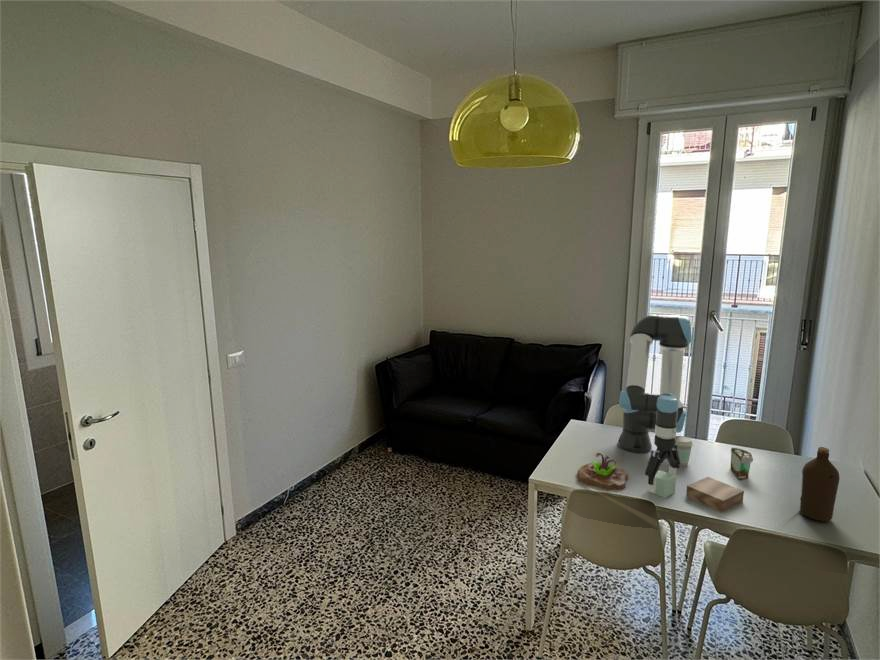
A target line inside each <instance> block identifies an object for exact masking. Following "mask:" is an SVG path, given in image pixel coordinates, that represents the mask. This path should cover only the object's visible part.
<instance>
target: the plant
mask: <svg viewBox="0 0 880 660" xmlns="http://www.w3.org/2000/svg"><path fill="white" fill-rule="evenodd" d="M594 455H595V457H597V458H598V457H599V456H601V462H600V461H597V462H594V461H591V463H587V464H584V465H581V466H580V467H579V469H578V470H577V475H578V482H580V483H582V484H585V485H588V486H593V487H598V488H599V489H606V490H609V491H610V490H613V489H614V490H617V491H620V490H624V489H625V488H626V483H627V482H626V481H627V480H628V479H629V474H628V473H627V471H625V470H624V469H623V468H620V467H617V466H618V465H619V464H618V462H617V461H615V460H614V459H610V455H605V457H604V454H602V453H600V452H596V453H595V454H594ZM611 462H613V463H614V465H611Z"/></svg>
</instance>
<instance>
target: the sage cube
mask: <svg viewBox="0 0 880 660" xmlns="http://www.w3.org/2000/svg"><path fill="white" fill-rule="evenodd" d="M655 477H656V489H655V493H653V494H655V495H657V496H660V497H662V498H664V499H665V498H667V497H670V496H672V495H673V494H675V493H676V484H677V483H676V481H677V475H676V476H674V475H671V474H669V472H665V471H663V470H660V469H658V471H657V473H656V475H655Z"/></svg>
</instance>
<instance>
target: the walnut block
mask: <svg viewBox="0 0 880 660" xmlns="http://www.w3.org/2000/svg"><path fill="white" fill-rule="evenodd" d="M744 493H745V490H743V489H740V488H739V487H735V486H733V485H730V484H727V483H725V482H722V481H720V480H717V479H714V478H713V477H710V476H706V477H703V478H702V479H699V480H697V481H695V482H692V483H690V484H688V485H686V495H685V496H686V498H687V499H691V500H693V501H695V502H697V503H699V504H702V505H705V506H706V507H709V508H711V509H714V510H716V511H718V512H719V513H724V512H726V511H728V510H730V509H733V508H734V507H736V506H738V505H740V504H743V502H744Z"/></svg>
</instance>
